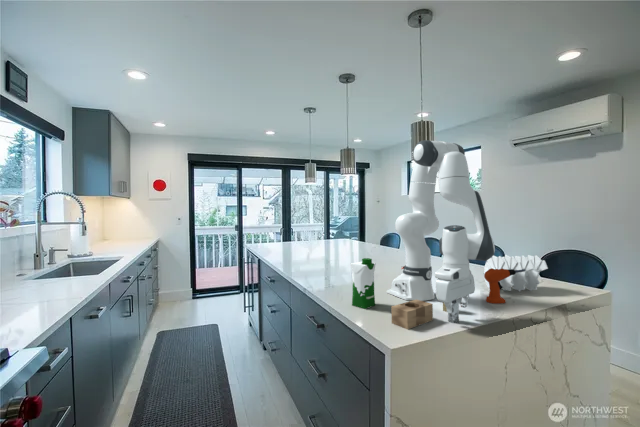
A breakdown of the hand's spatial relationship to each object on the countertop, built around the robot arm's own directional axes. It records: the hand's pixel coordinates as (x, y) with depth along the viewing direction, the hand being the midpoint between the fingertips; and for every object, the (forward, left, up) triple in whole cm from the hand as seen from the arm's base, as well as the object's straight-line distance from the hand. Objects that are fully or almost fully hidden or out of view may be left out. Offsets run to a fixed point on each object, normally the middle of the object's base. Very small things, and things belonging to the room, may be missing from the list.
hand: (457, 309), depth 107 cm
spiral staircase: (-7, +59, -5) cm, 60 cm away
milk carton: (-34, -14, -5) cm, 37 cm away
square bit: (-8, +8, -4) cm, 12 cm away
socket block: (-10, -13, -4) cm, 16 cm away
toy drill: (-1, +38, -5) cm, 39 cm away
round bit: (-1, -1, -4) cm, 5 cm away
